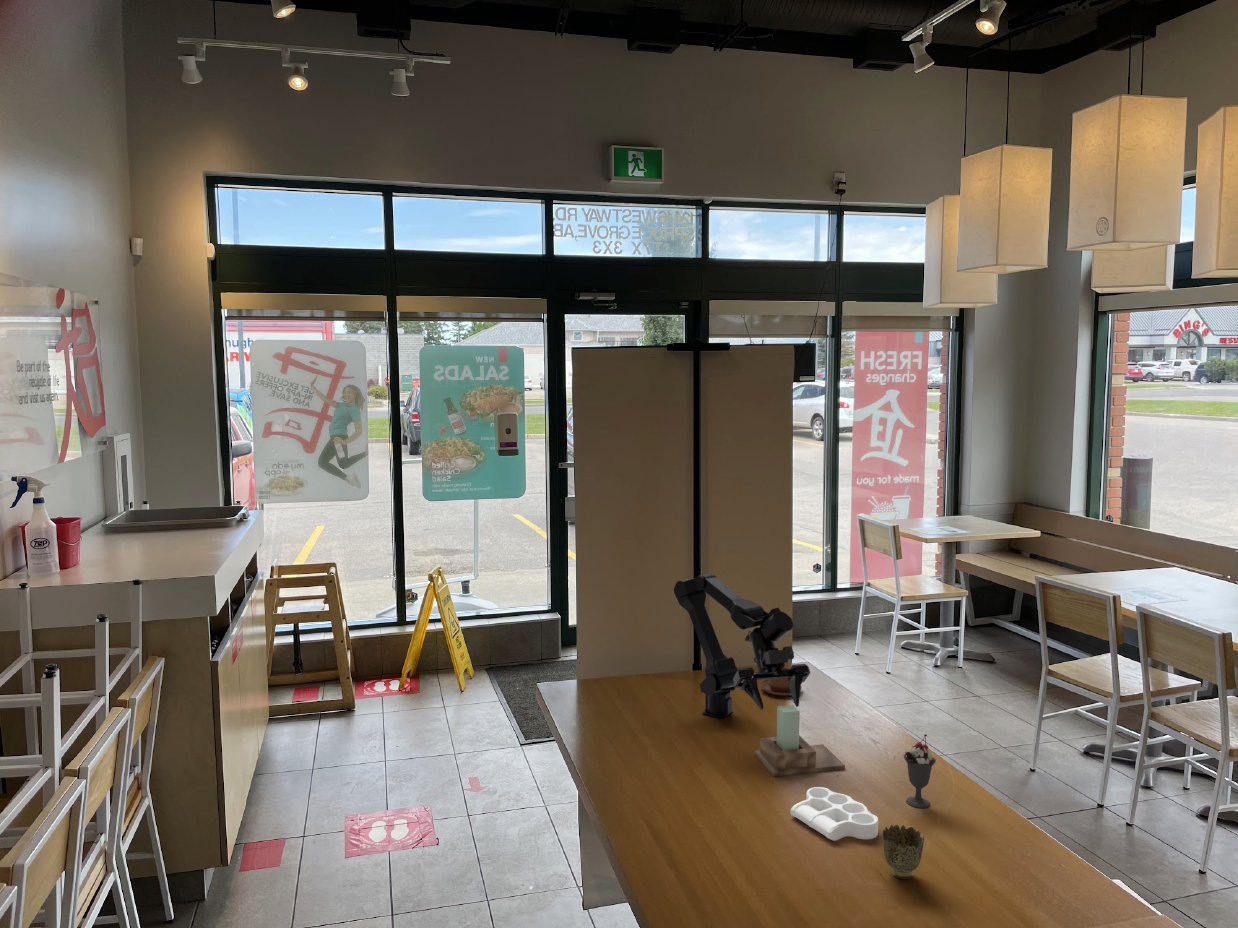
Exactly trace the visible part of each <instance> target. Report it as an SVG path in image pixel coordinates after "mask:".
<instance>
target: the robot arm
mask: <svg viewBox="0 0 1238 928" xmlns="http://www.w3.org/2000/svg"><path fill="white" fill-rule="evenodd" d="M673 593H674V595H675V598H676V599H677V601H678V602H677V603H678V604H679V605H680V606H681V607H682V608H683V609H685V611H686V612H687V613H688V615H689V617H690V620H691V622H692V625H693V628H694V632H695V633H696V636H697V639H698V641H699V644H700V646H701V649H702V652H703V655H704V657H705V660H706V662H705V668H704V673H705V678H704V679H703V680H702V681H701V682H700V683H699V689H700V692H701V693H703V694H705V695H704V697H705V698H704V700H705V701H704V710H703V711H702V714H703V715H706V716H710V717H714V718H718V719H724V718H726V717H727V716H729V715H730V714H732V713H733V712H734V710H733V705H732V704H733V698H732V697H731V692H733V691H735V690H736V688H739V690H741V691H744V692H745V693H746V694H747V695H748V696H749V698H751V699H752V700H753V702H754V703H755V704H756V705H757V707H758V708H759V709H760V710H761V711H762V710H763V709H764V703H763V700H762V696H761V693H760V689H759V687H758V681H764V680H768V679H779V678H788V681H789V682H791V683H790V684H789V688H790V691H791V694H792V695H791V696H792V700H793V704H794V706H795V708H799V706H800V697H801V696H800V692H801V690H800V686H802V685H803V684H802V683H804V682H805V681H807V679H808V678H809V676H810V674H811V671H810V667H809V666H808V665H807V664H806V663H796V664H791V667H790V668H788V669H789V670H782V669H781V668H785V667H786V664H788V663H789V661H791V660H794V658H795V654H794V649H793V647H792V645H791V646H789V645H788V646H784V647H782V649H778V647H776V644H775V642H778V641H780V640H781V639H782V638H783V637H784V636H786V635H787V634H788V633H789V632H790V631H792V630H793V628H794V622H793V619H792V618H791V616H789V615H788V614H787V613H785V612H784V611H781V609H780V607H774V608H772V609H770V610H769V612H768V611H766V610H765V609H764V608H763V607H762V606H761V605H760V604H758V603H756V602H754V601H753V600H749V599H744V598H742V597H740V596H739V595H738V594H737V593H735V592H734V591H733V590H732V588H729V587H728V586H727V585H726V584H725V583H723V582H722V581H720V580H719V578H717V576H716V575H715V574H713V573H707V574H700V575H698V576H696V577H693V578H687V579H682V580H678V581H676V583H675V585H674V587H673ZM707 595H708V596H709V597H711V598H712V599H714V601H716V602H717V603H718V604H719V605H721V606H722V607H723V609H726V611H727V612H728V613H729V614H730V619H731V620H732V621H733V623H734V624H735V625H736V626H737V627H738V628H739V629H741V630H748V629H753V628H754V629H753V630H749V631H748V633H747V635H746V636H745V639H744V641H745V642H749V643H750V644H751V648H752V651H753V655H754V658H753V662H754V663H755V664H756V667H757V670H758V671H755V669H754V668H753V667H751V666H750V667H749V666H748V667H738V668H737V665H736V662H735V659H734V658H733V657H727V656H726V654H725V653H724V651H723V650H722V646H721V644H720V641H719V639H718V636H717V633H716V632H715V629H714V626H713V623H712V620H711V619H710V617H709V613H708V610H707V608H706V601H707Z"/></svg>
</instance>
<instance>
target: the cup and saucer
mask: <svg viewBox="0 0 1238 928" xmlns="http://www.w3.org/2000/svg"><path fill="white" fill-rule="evenodd" d="M781 669H782V670H789V669H790V668H787V667H784V668H781ZM790 683H791V682H789V681H788V678H779V679H765V680H761V682H760V688H761V689H762V690H763V691H764V692H766V693H768V694H770V695H775V696H782V697H785V696H786V697H787V696H792V694H791V691H790V688H789V684H790ZM801 690H802V685H801V686H800V691H801Z"/></svg>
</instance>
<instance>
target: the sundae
mask: <svg viewBox="0 0 1238 928" xmlns="http://www.w3.org/2000/svg"><path fill="white" fill-rule="evenodd" d="M926 737H928V734H923V738H922V739H921V741H917V742H916V744H915V745H912V747H911V748H910V750H909V751H905V752H904V754H903V758H904V760H905V762H906V764H907V775H908V780H909V783H910V784H911V785H912V786H913V787H914V788H915V794H914V796H909V797H907V798H906V800H905V802H906V803H907V805H909V806H911V807H912V808H916V809H926V808H929V807H930V806H931V802H930V801H929V800H928V799H926V798H924V797H922V789H923V788H926V787H927V786H928V784H929V782H930V779H931V772H932V767H933V766H934V765H935V763H936V762H937V760H936V758H935V757H933V755H932V753H931V752H930V750H928V749H929V746H928V745H927V740H926V739H927V738H926ZM923 741H924V744H923V743H922V742H923Z"/></svg>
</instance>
